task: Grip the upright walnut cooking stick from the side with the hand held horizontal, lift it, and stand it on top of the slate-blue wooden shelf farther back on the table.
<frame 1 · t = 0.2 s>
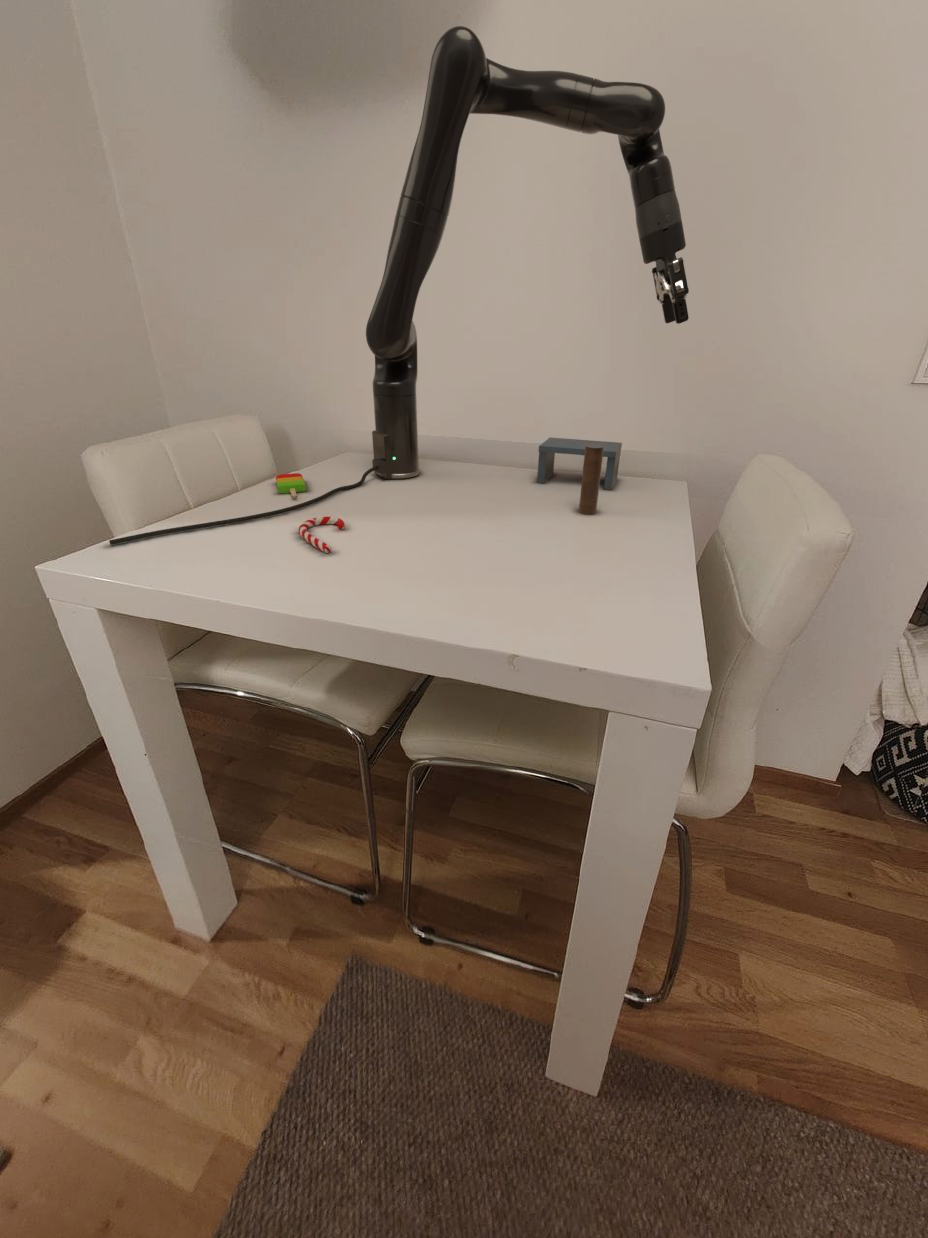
hand: (676, 321, 110), 31 cm above the table, tool tilted 20°, fingers open, 8 cm apart
candy cane: (325, 538, 93), on the table
popsicle: (292, 491, 118), on the table
shelf: (577, 481, 125), on the table
stick: (587, 511, 106), on the table
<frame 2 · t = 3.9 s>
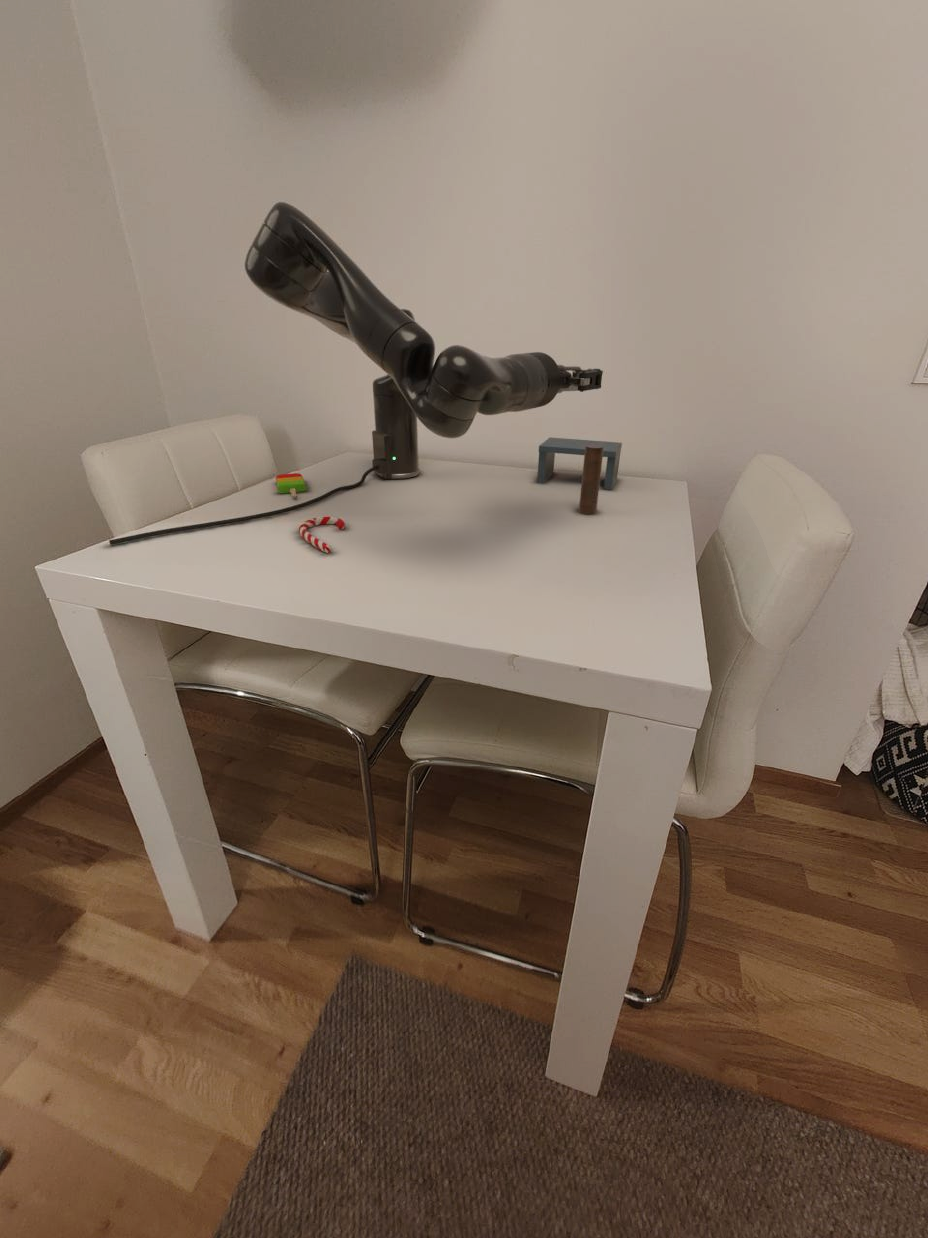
hand: (573, 374, 93), 24 cm above the table, tool horizontal, fingers open, 8 cm apart
nothing on the table moved.
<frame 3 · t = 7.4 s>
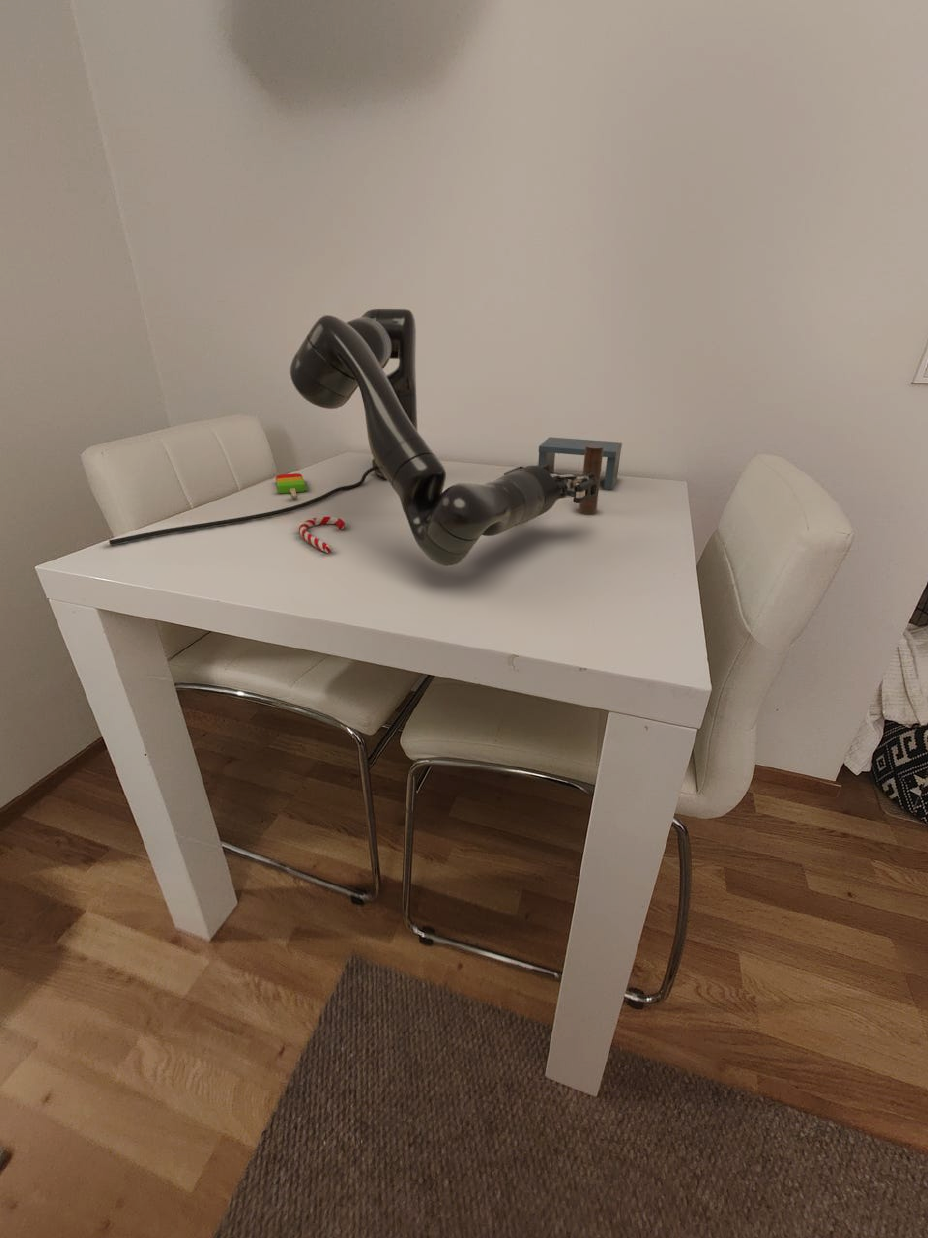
hand: (569, 474, 95), 9 cm above the table, tool horizontal, fingers open, 8 cm apart
nothing on the table moved.
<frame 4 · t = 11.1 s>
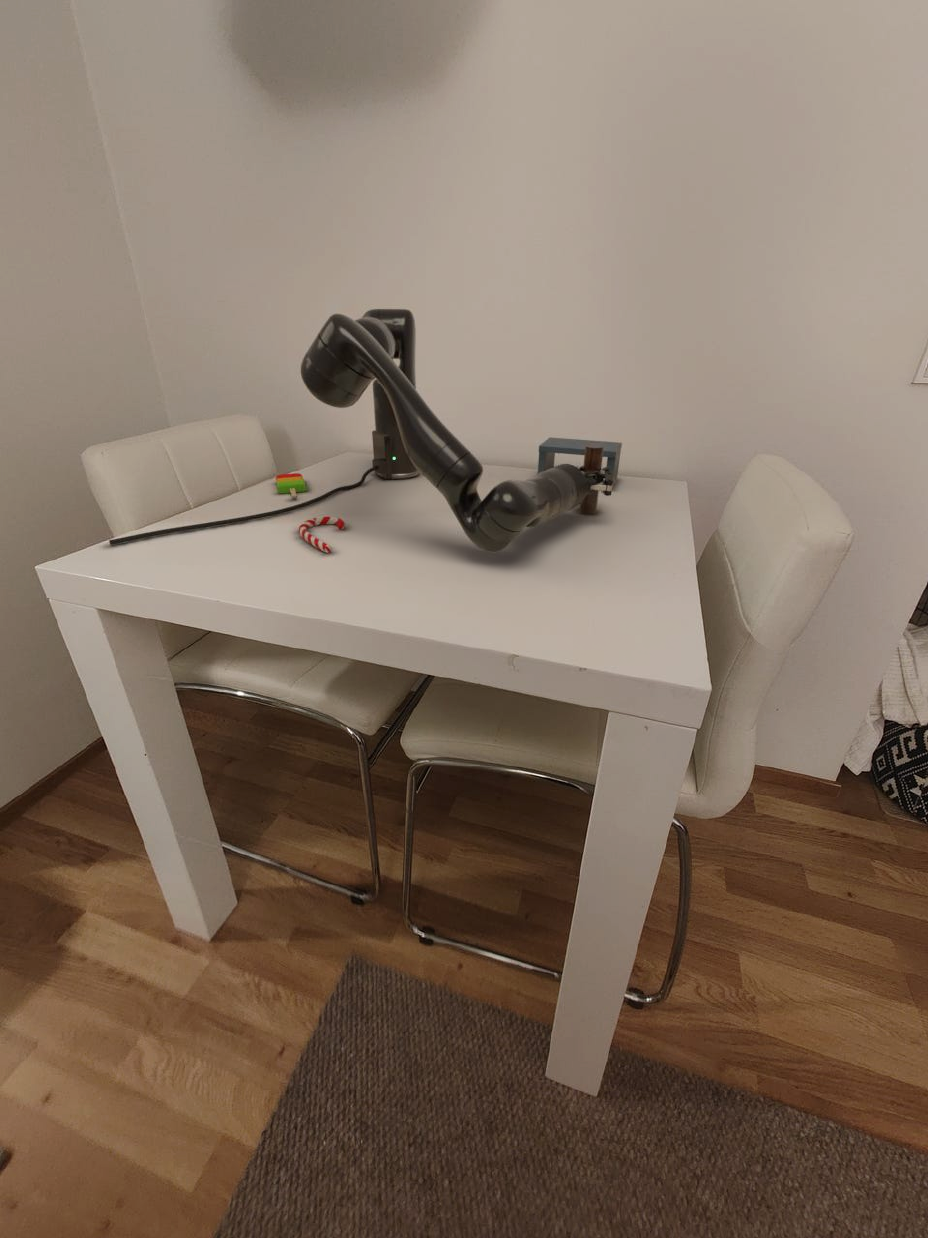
hand: (598, 471, 105), 7 cm above the table, tool horizontal, fingers closed on stick, 3 cm apart
stick: (587, 511, 106), on the table, touching gripper
everything else where it was.
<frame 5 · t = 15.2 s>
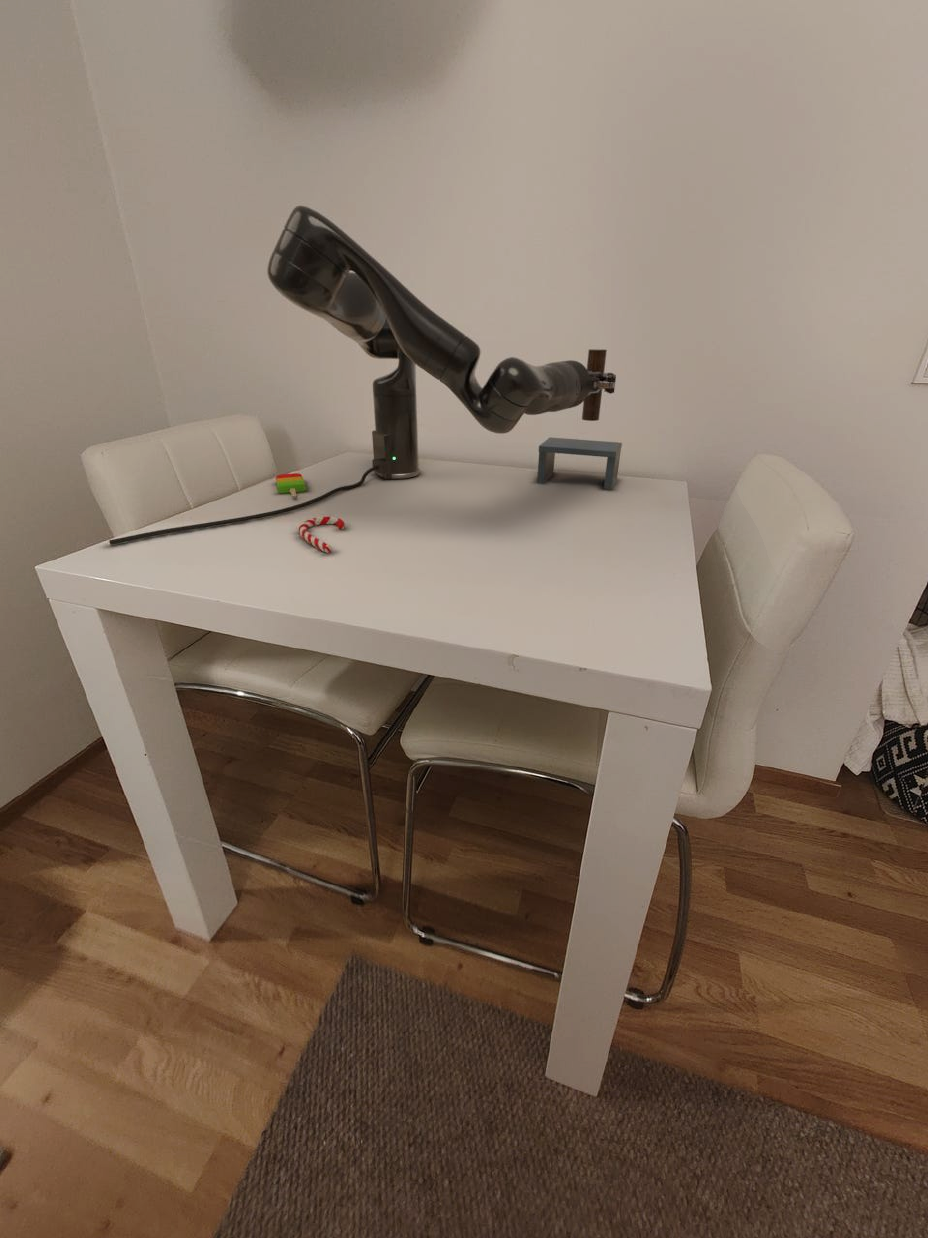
hand: (600, 378, 107), 22 cm above the table, tool horizontal, fingers closed on stick, 3 cm apart
stick: (590, 419, 108), point 15 cm above the table, touching gripper
everything else where it was.
when the fingers open (15 cm above the table, at t = 19.2 s): stick stays where it is, resting on shelf.
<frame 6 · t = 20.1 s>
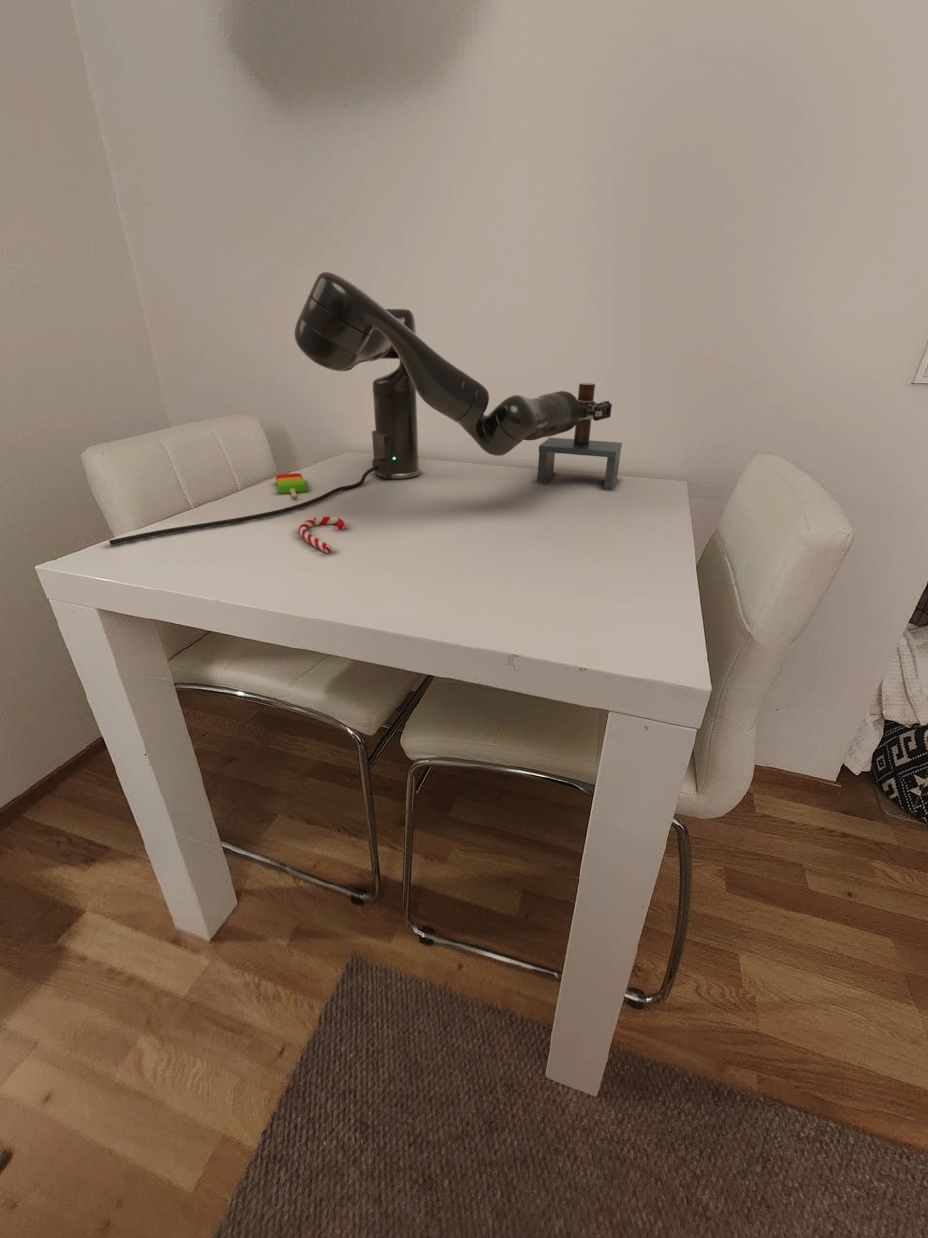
hand: (588, 404, 119), 16 cm above the table, tool horizontal, fingers open, 8 cm apart
stick: (581, 444, 122), point 8 cm above the table, touching shelf
everything else where it was.
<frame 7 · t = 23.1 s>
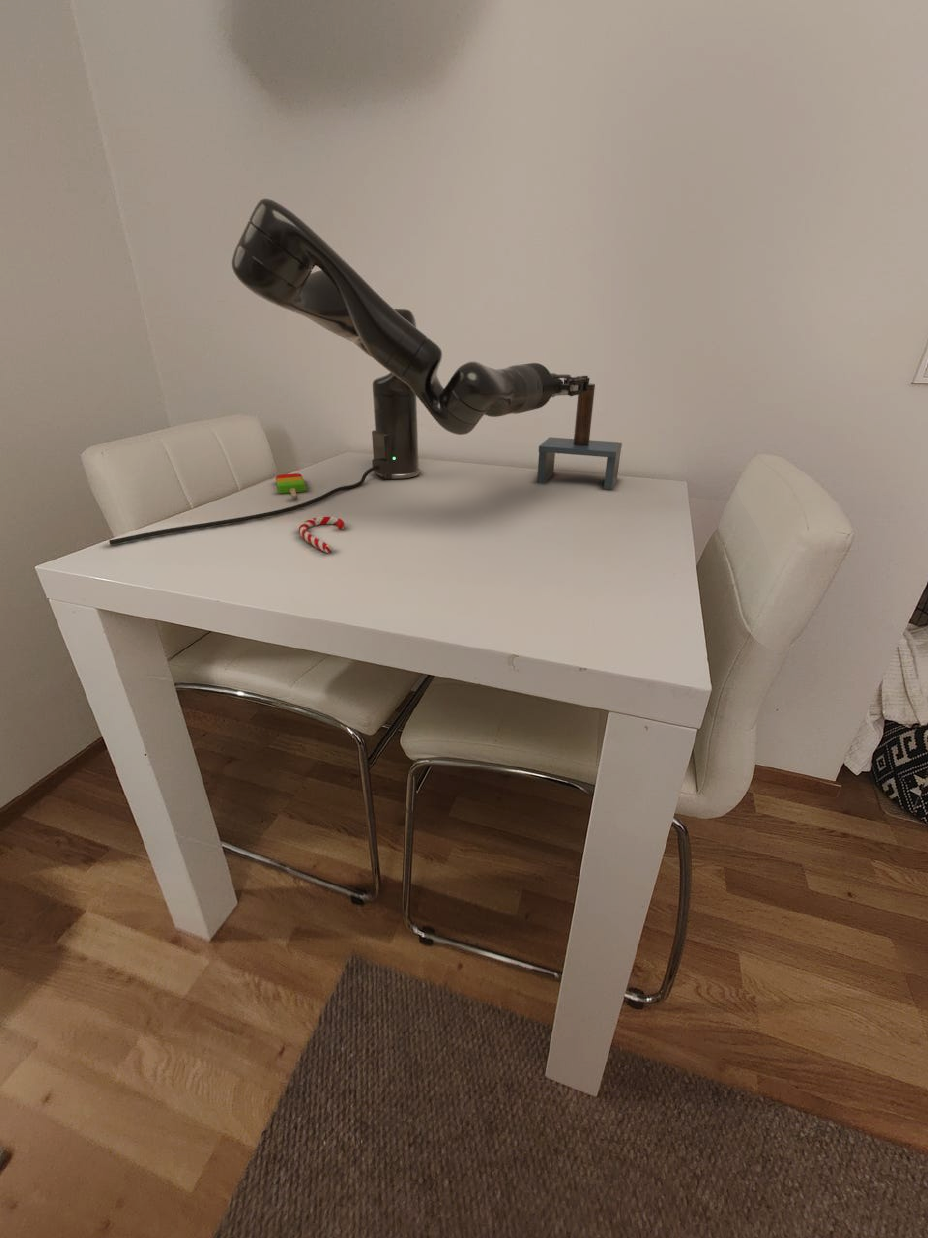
hand: (565, 380, 108), 21 cm above the table, tool horizontal, fingers open, 8 cm apart
nothing on the table moved.
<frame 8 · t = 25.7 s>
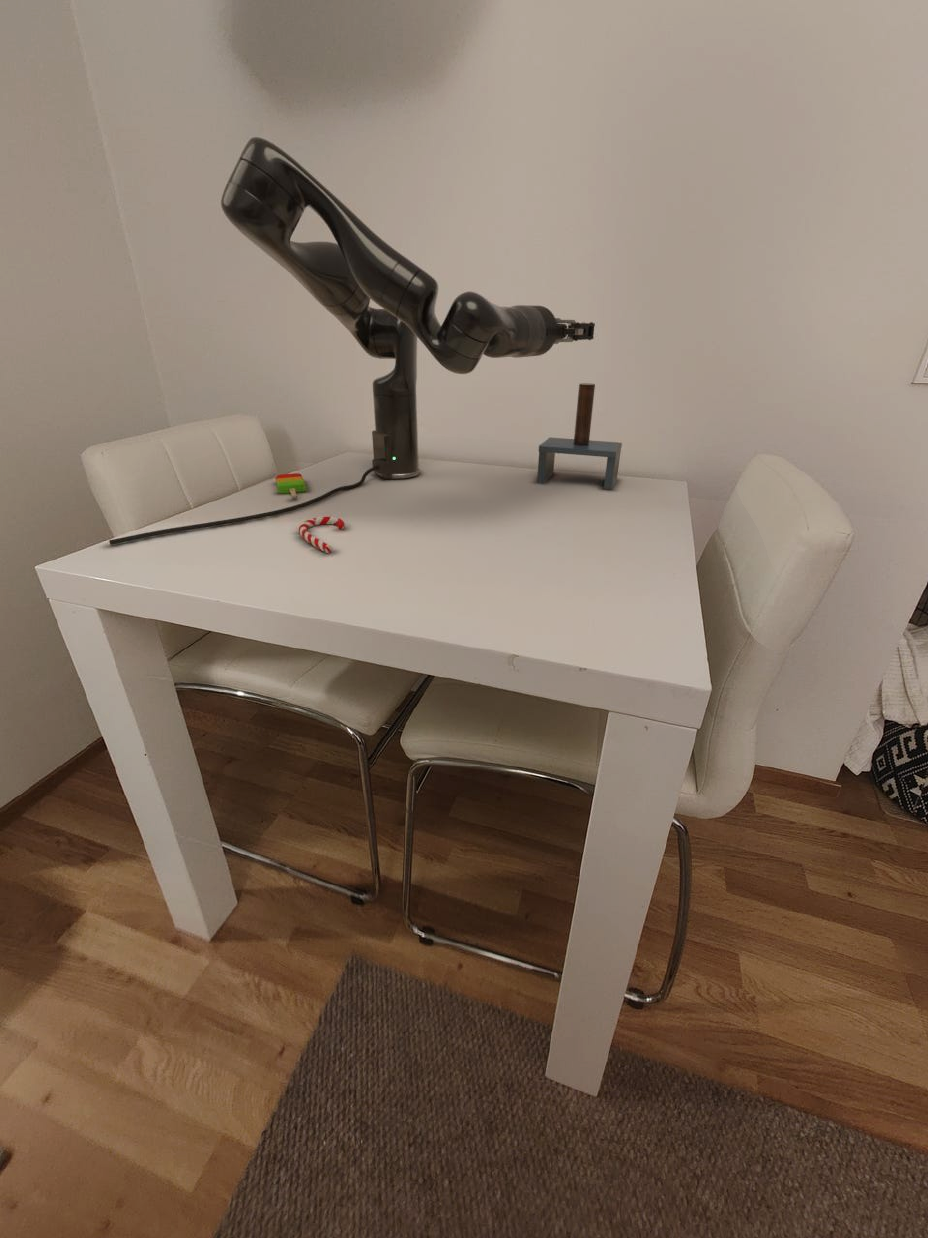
hand: (569, 329, 104), 30 cm above the table, tool horizontal, fingers open, 8 cm apart
nothing on the table moved.
at the end: stick inside the target area on the shelf (0.1 cm from its centre), point 8.0 cm above the shelf's base; stick tilted 0°; the gripper is holding nothing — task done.
